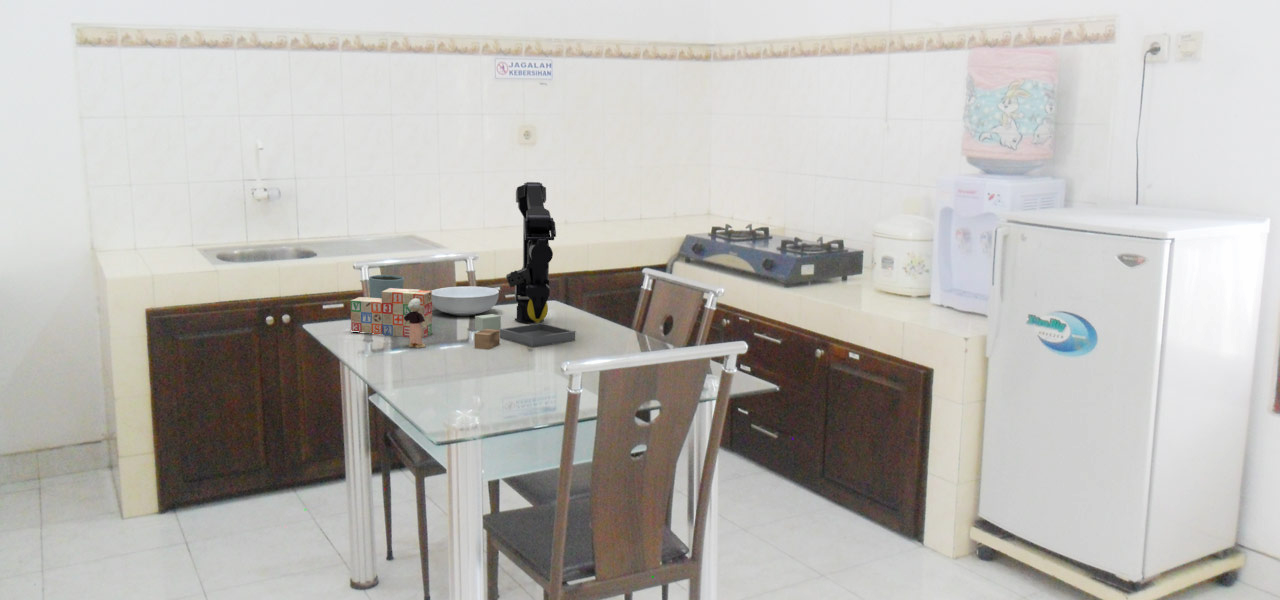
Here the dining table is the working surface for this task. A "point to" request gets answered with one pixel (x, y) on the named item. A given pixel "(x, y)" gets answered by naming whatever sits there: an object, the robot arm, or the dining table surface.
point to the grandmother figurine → (415, 323)
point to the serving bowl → (464, 300)
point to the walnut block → (487, 339)
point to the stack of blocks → (390, 312)
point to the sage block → (488, 322)
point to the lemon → (532, 314)
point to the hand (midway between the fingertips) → (537, 316)
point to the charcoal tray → (537, 334)
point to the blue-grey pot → (384, 284)
